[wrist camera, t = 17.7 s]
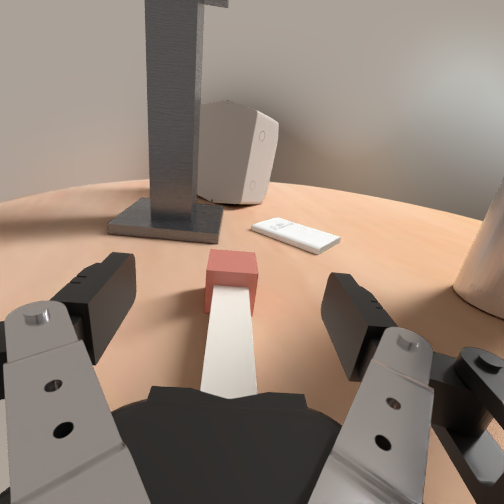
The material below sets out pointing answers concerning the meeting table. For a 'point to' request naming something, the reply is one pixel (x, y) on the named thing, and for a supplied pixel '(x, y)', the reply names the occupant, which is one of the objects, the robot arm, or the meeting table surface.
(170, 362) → the meeting table surface
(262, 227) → the external hard drive
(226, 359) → the white bar pink end
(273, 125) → the electrical switch box
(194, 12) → the headphone stand
